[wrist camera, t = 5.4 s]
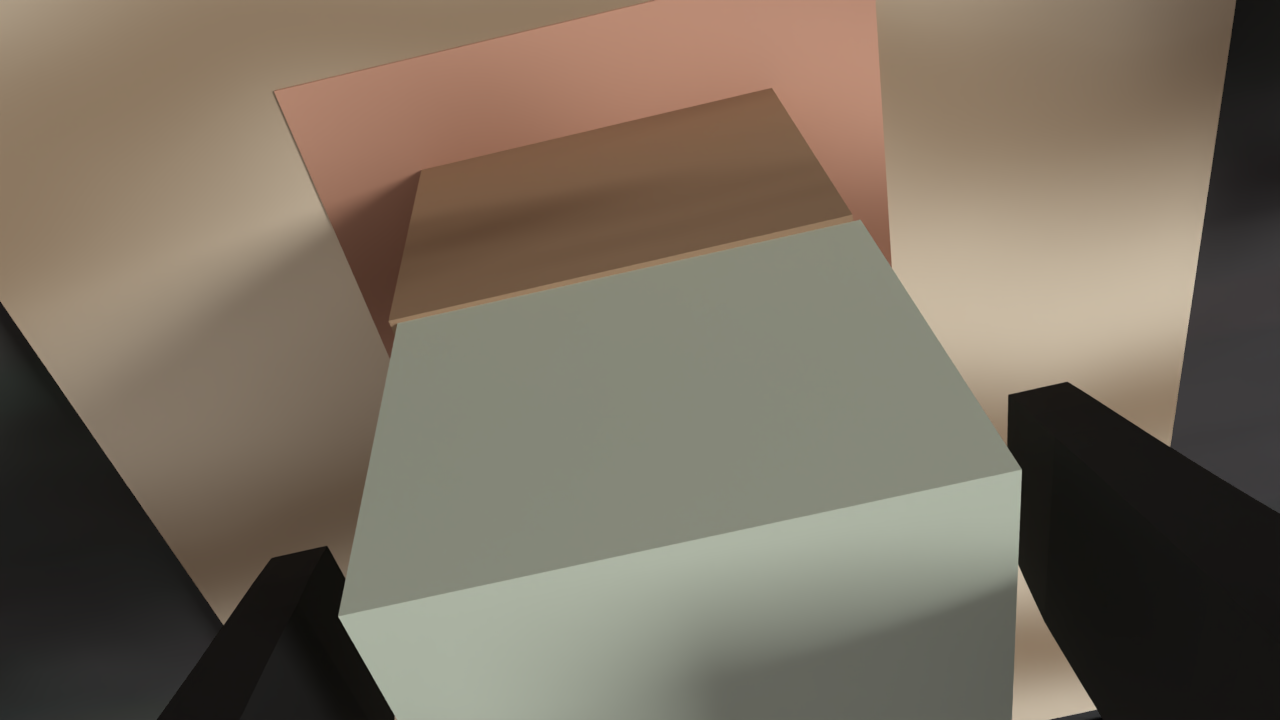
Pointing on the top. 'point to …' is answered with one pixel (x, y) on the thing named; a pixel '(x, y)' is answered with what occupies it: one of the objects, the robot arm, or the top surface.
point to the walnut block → (610, 204)
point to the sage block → (689, 503)
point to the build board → (539, 111)
